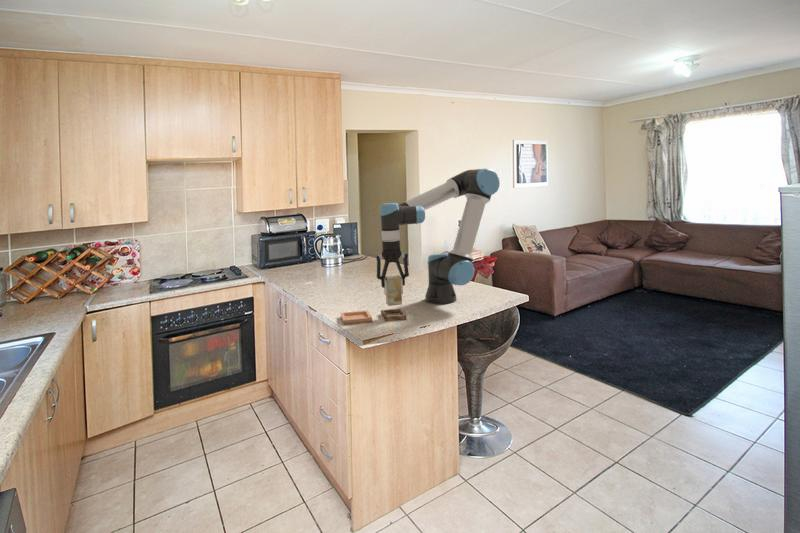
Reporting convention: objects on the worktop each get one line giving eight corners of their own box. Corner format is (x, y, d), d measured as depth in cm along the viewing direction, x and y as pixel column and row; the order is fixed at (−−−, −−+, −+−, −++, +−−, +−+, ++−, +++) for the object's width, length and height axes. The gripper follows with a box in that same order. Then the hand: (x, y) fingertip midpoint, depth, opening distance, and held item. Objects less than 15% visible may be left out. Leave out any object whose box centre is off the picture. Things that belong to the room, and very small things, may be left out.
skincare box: (388, 306, 184) (386, 278, 181) (386, 303, 188) (384, 276, 185) (403, 304, 185) (401, 276, 182) (400, 301, 189) (398, 274, 187)
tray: (368, 314, 192) (368, 310, 191) (372, 322, 180) (372, 317, 180) (341, 317, 189) (340, 312, 189) (343, 325, 178) (343, 320, 177)
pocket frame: (400, 312, 193) (400, 308, 193) (406, 319, 183) (406, 315, 182) (381, 314, 191) (380, 310, 191) (385, 321, 181) (385, 317, 180)
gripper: (411, 237, 187) (413, 289, 191) (366, 240, 183) (370, 294, 187) (415, 239, 180) (417, 293, 184) (369, 243, 176) (372, 298, 180)
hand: (393, 293), depth 185 cm, fingers closed on skincare box, 6 cm apart
